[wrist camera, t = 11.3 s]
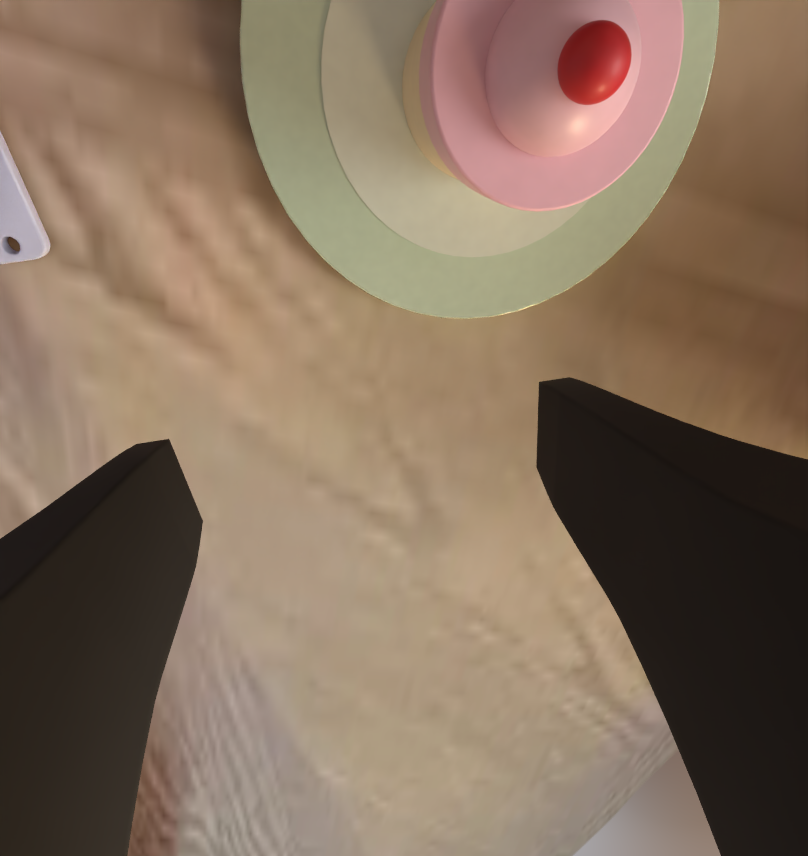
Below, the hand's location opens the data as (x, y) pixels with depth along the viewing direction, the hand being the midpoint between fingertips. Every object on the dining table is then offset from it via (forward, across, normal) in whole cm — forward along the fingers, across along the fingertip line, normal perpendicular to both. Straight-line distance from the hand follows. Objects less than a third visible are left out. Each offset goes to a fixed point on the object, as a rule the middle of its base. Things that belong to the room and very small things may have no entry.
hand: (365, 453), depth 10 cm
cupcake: (+9, -5, -6) cm, 12 cm away
